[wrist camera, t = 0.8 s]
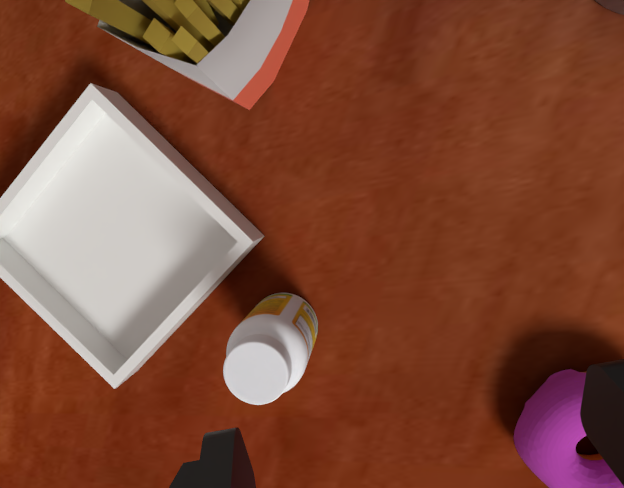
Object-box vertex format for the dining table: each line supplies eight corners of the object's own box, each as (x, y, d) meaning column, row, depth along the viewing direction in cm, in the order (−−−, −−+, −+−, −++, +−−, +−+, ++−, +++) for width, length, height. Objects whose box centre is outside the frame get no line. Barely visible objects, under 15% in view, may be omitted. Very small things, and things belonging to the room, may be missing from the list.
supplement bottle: (240, 336, 38) (196, 389, 28) (270, 279, 37) (234, 313, 27) (299, 368, 37) (274, 433, 28) (330, 311, 36) (316, 358, 27)
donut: (484, 426, 36) (500, 460, 32) (576, 328, 34) (606, 350, 30) (592, 509, 36) (623, 555, 32) (689, 414, 34) (737, 449, 30)
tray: (117, 92, 36) (90, 82, 33) (264, 236, 36) (253, 241, 33) (0, 237, 39) (-35, 243, 36) (137, 370, 39) (114, 388, 36)
